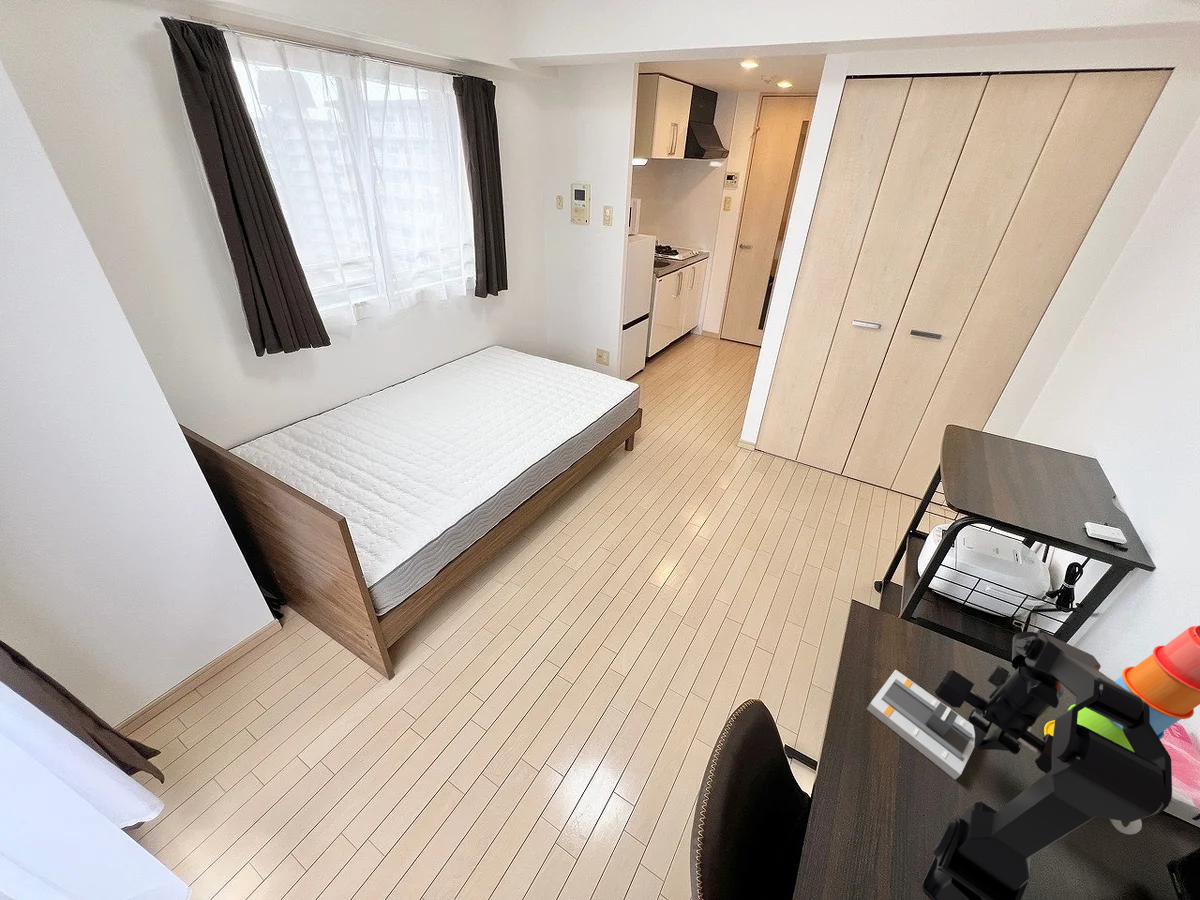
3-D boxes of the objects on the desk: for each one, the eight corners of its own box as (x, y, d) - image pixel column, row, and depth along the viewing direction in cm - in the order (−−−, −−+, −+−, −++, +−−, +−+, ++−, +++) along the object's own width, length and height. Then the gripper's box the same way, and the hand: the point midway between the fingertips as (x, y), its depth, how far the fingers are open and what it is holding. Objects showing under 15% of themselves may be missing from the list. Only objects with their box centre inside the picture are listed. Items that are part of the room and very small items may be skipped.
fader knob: (942, 736, 89) (951, 726, 87) (925, 723, 91) (933, 713, 89) (949, 724, 91) (958, 714, 89) (932, 712, 93) (940, 701, 91)
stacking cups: (1108, 747, 92) (1251, 631, 74) (1114, 793, 85) (1274, 677, 67) (1042, 712, 97) (1160, 595, 79) (1042, 752, 90) (1172, 635, 72)
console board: (955, 780, 85) (962, 773, 84) (866, 708, 95) (871, 701, 94) (976, 737, 92) (983, 730, 90) (891, 675, 102) (896, 667, 100)
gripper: (1107, 712, 77) (1051, 761, 85) (975, 632, 88) (937, 682, 97) (1095, 758, 70) (1035, 806, 78) (954, 665, 82) (916, 715, 90)
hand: (977, 746), depth 86 cm, fingers closed
